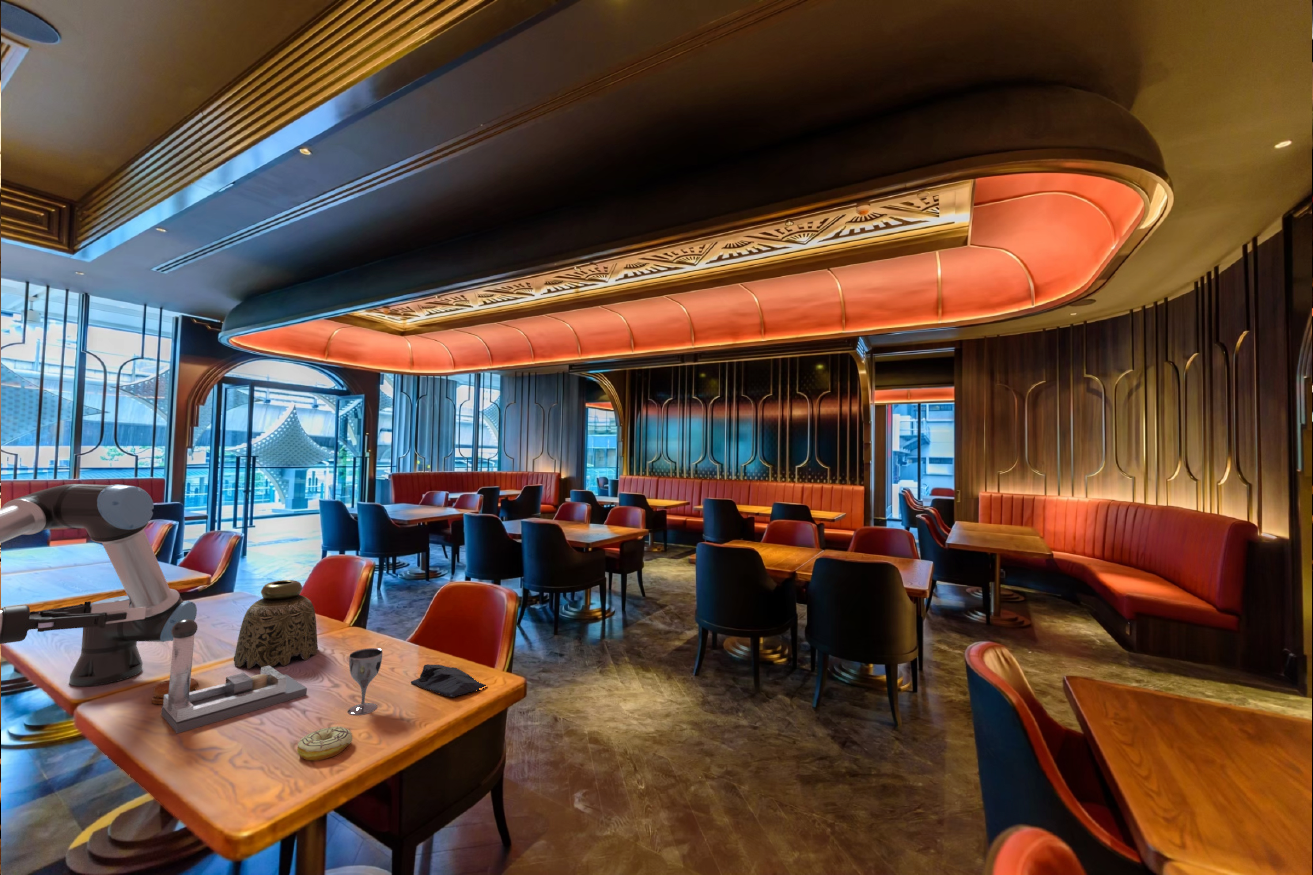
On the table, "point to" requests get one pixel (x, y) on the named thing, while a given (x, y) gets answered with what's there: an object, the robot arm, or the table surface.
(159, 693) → the burger
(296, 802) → the table surface
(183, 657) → the press ram
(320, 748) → the decorated donut
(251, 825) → the table surface
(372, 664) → the wine glass
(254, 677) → the nut
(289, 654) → the lamp shade
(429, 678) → the black crumpled cloth
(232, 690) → the grey rectangular block
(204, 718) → the press bench
